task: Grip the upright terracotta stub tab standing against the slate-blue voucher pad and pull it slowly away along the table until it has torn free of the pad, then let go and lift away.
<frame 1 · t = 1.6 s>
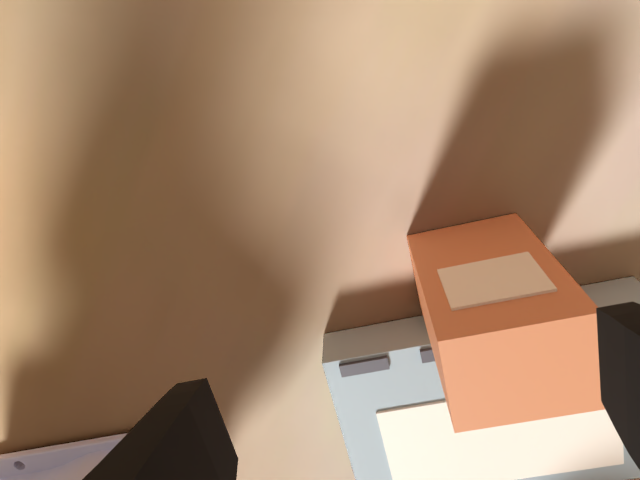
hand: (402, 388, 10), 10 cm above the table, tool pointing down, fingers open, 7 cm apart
voucher pad: (485, 387, 23), on the table
stub tab: (489, 306, 17), point 4 cm above the table, slide at 0.0 cm
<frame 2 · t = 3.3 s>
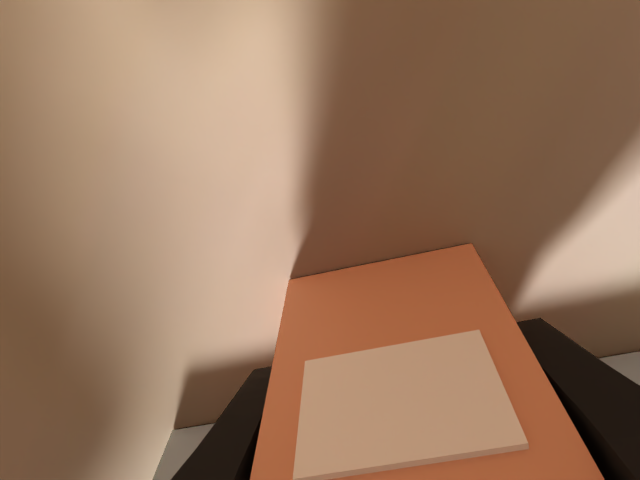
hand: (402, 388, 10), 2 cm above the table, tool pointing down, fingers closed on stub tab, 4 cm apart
stub tab: (408, 429, 9), point 4 cm above the table, slide at 0.0 cm, touching gripper
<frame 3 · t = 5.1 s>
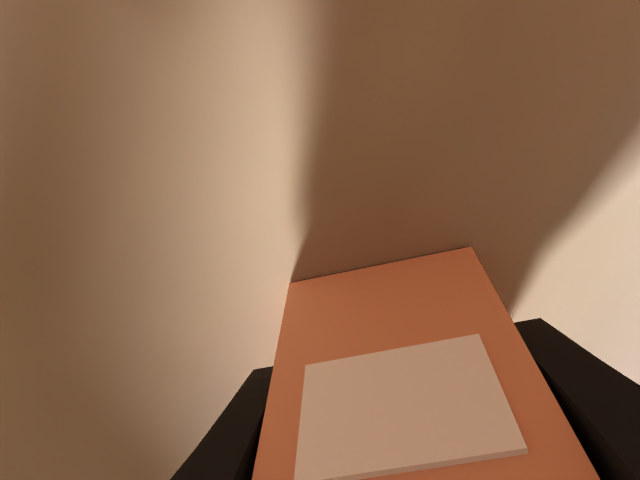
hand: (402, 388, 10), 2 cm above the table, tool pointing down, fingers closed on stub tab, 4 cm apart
stub tab: (408, 432, 9), point 3 cm above the table, slide at 5.5 cm, touching gripper
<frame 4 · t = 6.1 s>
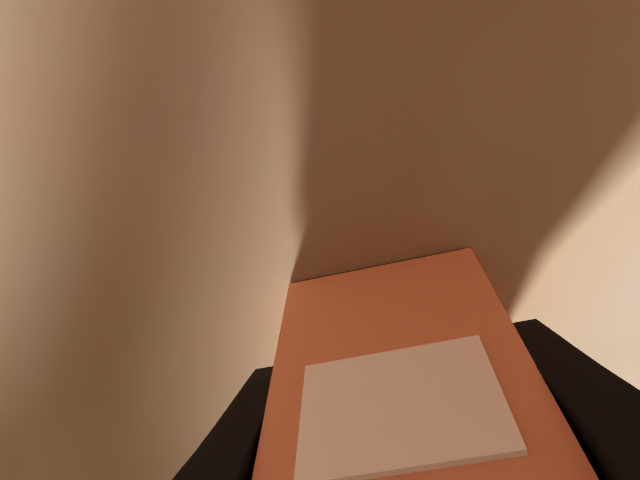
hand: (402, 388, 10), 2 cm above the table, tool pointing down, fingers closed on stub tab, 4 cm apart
stub tab: (408, 433, 9), point 4 cm above the table, slide at 8.9 cm, touching gripper
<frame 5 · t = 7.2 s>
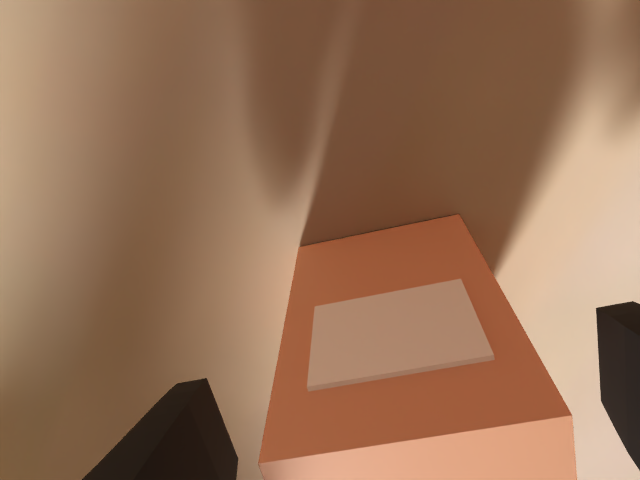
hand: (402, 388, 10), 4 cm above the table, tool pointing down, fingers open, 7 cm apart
stub tab: (402, 365, 11), point 3 cm above the table, slide at 8.9 cm
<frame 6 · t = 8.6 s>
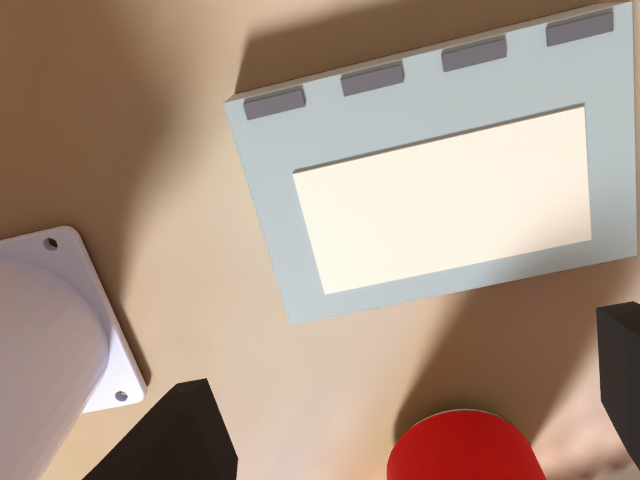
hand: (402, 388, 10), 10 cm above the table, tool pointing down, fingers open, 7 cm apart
voucher pad: (429, 167, 19), on the table
beverage can: (453, 446, 24), on the table
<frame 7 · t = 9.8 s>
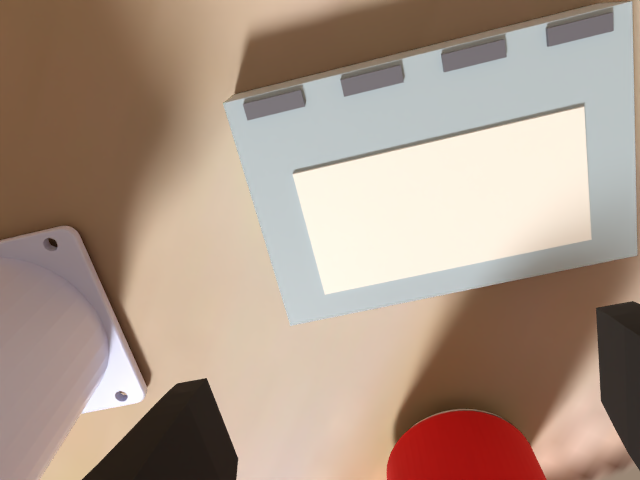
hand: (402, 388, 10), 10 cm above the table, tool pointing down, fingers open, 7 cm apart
voucher pad: (429, 167, 19), on the table
beverage can: (453, 446, 24), on the table
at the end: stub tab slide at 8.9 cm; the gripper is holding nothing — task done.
